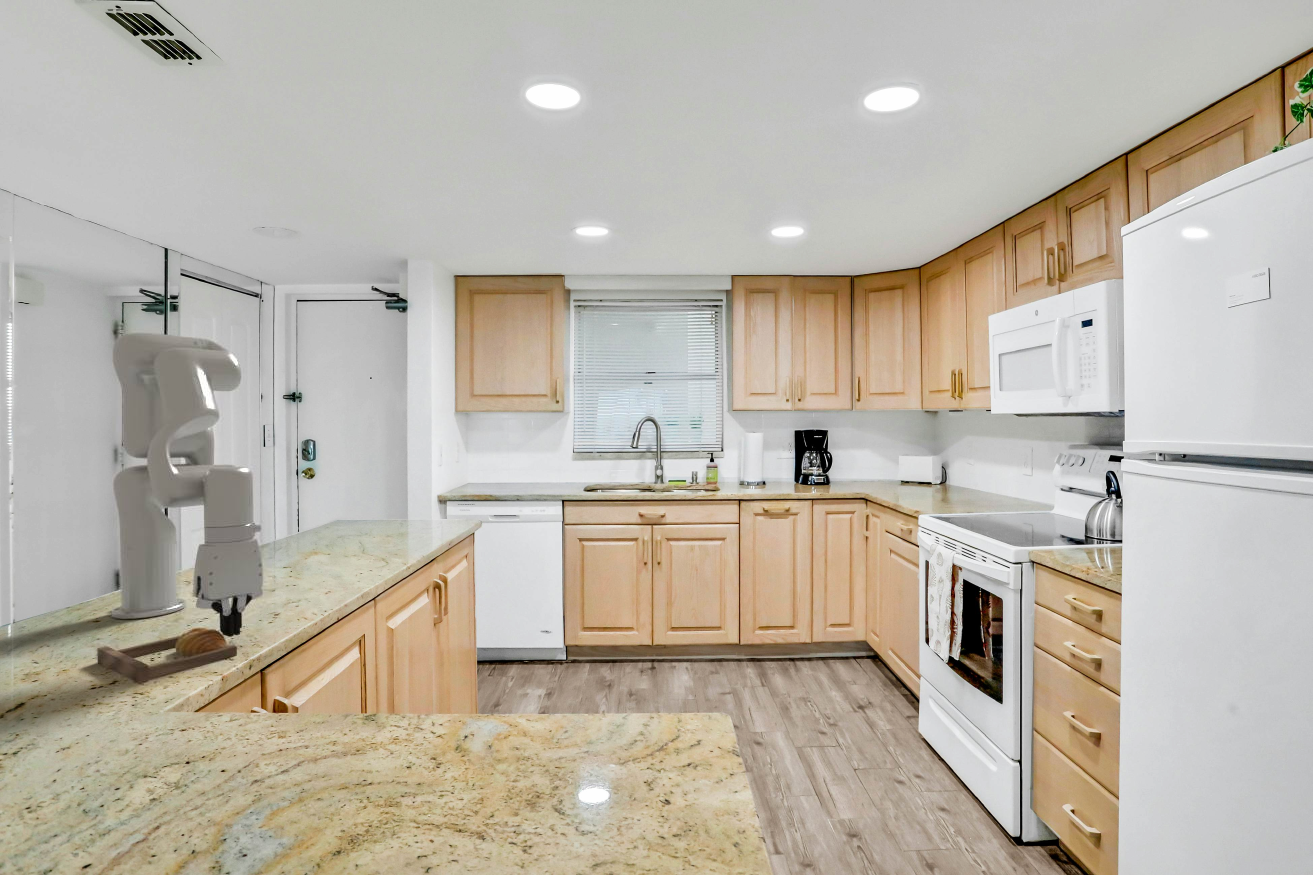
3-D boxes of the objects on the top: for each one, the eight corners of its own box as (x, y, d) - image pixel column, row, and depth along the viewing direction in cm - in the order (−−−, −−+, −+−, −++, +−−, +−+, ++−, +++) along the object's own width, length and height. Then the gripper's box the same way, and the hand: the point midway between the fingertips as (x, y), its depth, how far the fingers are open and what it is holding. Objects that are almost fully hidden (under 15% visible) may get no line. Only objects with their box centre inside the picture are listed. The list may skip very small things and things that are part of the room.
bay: (97, 662, 108) (97, 647, 108) (194, 639, 120) (193, 625, 120) (139, 683, 99) (139, 667, 99) (239, 655, 111) (238, 641, 111)
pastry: (237, 652, 113) (237, 631, 113) (194, 665, 108) (193, 642, 108) (213, 643, 118) (212, 622, 118) (170, 654, 113) (169, 632, 113)
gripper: (261, 527, 125) (263, 621, 126) (172, 539, 113) (174, 642, 113) (282, 530, 122) (283, 626, 122) (192, 542, 109) (194, 650, 109)
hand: (231, 634), depth 117 cm, fingers closed
